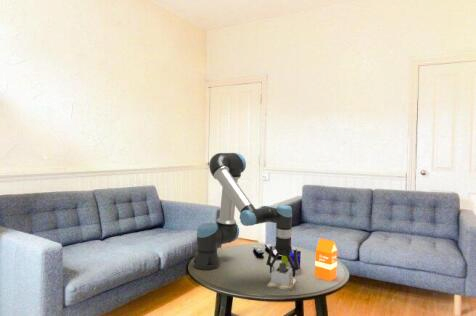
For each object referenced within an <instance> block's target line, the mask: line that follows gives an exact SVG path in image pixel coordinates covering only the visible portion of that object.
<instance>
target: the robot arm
mask: <svg viewBox="0 0 476 316" xmlns="http://www.w3.org/2000/svg"><path fill="white" fill-rule="evenodd" d="M208 164H209V166H208V167H209V171H210V174H211V176H212V177H213V179H214V180H217V182H218V183H219V184H220V186H221V187H222V190H221V198H220V199H221V201H220V207H219V208H220V211H219V217H218V218H217V219H216V222H206V223H202V224H200V225H198V227H197V229H196V252H195V255H194V259H193V263H192V266H193V268H195V269H197V270H201V271H210V270H216V269H218V268H219V267H220V266H221V265H220V264H221V262H220V257H219V254H218V246H220V245H223V244H224V245H226V244H231V243H232V242H234V241H236V240H237V239H238V237H239V235H240V227H239V225H238V223H237V220H236V219H235V211H236V209H237V211H238V212H239V219H240V223H241V225H243V226H245V227H249V226H250V227H251V226H255V225H258V224H264V223H265V224H266V223H273V224H276V225H275V226H276V229H275V245H270V246H269V253H268V256H267V260H266V262H265V263H266V266H269V273H270V274H271V271H272V270H273V269H274V268H275V266H276V265H275V263H276V262H277V260H278V258H279V256H282V255H283V256H286V257H287V259H288V261H289V263H290V265H291V268H292V270H291V284H292V283H293V279H294V278H295V277H296V270H298V269H299V262H298V257H297V251H298V248H293V247H292V224H293V223H292V221H293V208H292V206H290V205H285V204H282V205H281V204H280V205H278V206H276V207H273V206H268V205H261V206H260V207H258V208H255V206H254V204H252V202H251V201H250V199H249V198H248V196H247V195H246V193H245V192H244V191H243V189H242V187H240V185H239V184H238V182H239V181H238V180H239V179H240V178H241V176H242V173H244V172H245V170H246V168H247V162H246V160H245V157H244V156H243V155H242V154H241V153H237V152H218V153H215V154H214V155H213V156H212V157H211V158H210V160H209V163H208ZM274 251H276V254H275V255H274V257H273V252H274ZM291 251H292V253H293V255H294V261H295V265H294V263H293V260H292V258H291V255H290V252H291ZM272 257H273V259H272ZM295 266H296V267H295Z"/></svg>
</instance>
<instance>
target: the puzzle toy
mask: <svg viewBox="0 0 476 316" xmlns="http://www.w3.org/2000/svg"><path fill="white" fill-rule="evenodd" d="M301 253H302V252H301V250H297V257H298V262H299V269H298V270H296V274H295V276H296V275H298V276H301V256H302V255H301ZM290 255H291V258H292V260H293V263H294V265H295V261H294V255H293V253H292V251H291V252H290ZM281 263H286V267H288V268H291V265H290V263H289V261H288V259H287V257H286V256H283V255H281ZM295 267H296V266H295Z"/></svg>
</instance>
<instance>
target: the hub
mask: <svg viewBox="0 0 476 316" xmlns="http://www.w3.org/2000/svg"><path fill="white" fill-rule="evenodd" d="M274 266H275V268H274V269H273V270H272V271H271V273H270V274H271V275H270V277H271V278H270V280H271V283H272V284H277V285H283V286H288V287H289V286H290V284H291V270H292V268H288V267H286V272H280V271H279V265H274Z"/></svg>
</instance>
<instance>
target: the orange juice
mask: <svg viewBox="0 0 476 316" xmlns="http://www.w3.org/2000/svg"><path fill="white" fill-rule="evenodd" d="M314 260H315V262H314V263H315V265H314V267H315V269H314V277H315V278H318V279H321V280H325V281H328V282H331V281H333V280H334V279H336V278H337V271H338V270H337V268H338V248H337V245H336V242H335V241H334V240H331V239H330V240H329V239H326V238H325V239H324V238H319V239H318V241H317V246H316V249H315V259H314Z"/></svg>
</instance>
